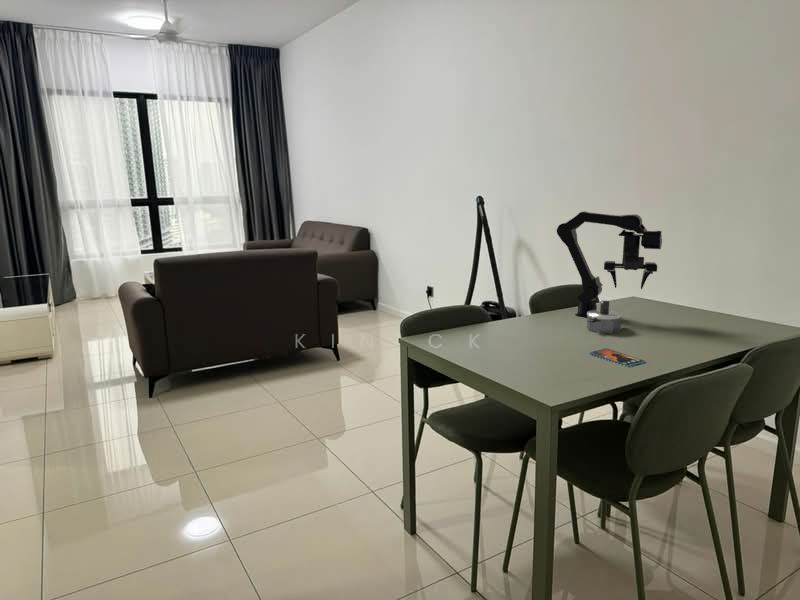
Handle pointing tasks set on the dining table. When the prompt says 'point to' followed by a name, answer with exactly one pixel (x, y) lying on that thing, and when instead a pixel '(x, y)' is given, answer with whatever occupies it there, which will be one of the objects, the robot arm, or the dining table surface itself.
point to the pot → (603, 325)
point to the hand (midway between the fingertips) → (628, 288)
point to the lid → (604, 313)
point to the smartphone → (617, 357)
